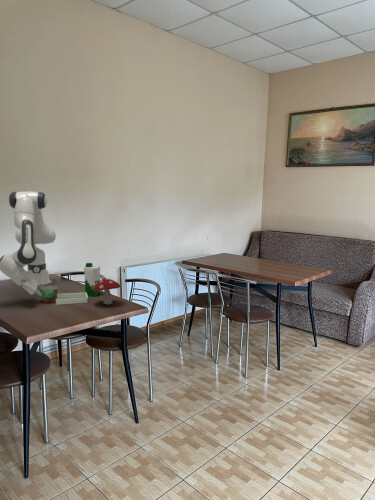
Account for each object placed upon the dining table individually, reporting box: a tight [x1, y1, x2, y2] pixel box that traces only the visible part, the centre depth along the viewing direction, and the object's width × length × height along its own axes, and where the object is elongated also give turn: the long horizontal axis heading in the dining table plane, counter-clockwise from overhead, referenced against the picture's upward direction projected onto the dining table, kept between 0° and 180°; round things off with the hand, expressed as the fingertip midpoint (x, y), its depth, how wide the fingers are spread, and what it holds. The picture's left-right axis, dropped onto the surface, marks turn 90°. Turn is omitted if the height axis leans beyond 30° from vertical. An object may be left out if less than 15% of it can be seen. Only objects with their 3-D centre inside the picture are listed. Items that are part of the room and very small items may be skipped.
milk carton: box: [83, 262, 101, 297], centre depth 241 cm, size 9×9×20 cm
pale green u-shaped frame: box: [55, 291, 89, 306], centre depth 228 cm, size 13×18×3 cm
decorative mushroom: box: [92, 277, 121, 305], centre depth 222 cm, size 16×16×15 cm
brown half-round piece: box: [38, 284, 60, 304], centre depth 223 cm, size 12×6×10 cm, turn 74°
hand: (41, 294), depth 222 cm, fingers closed
